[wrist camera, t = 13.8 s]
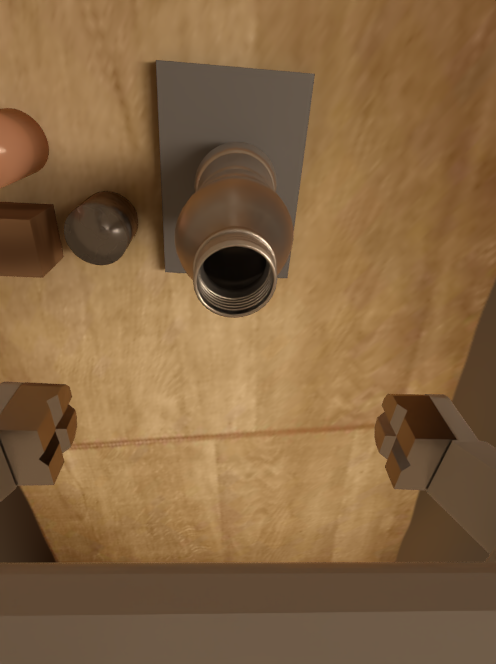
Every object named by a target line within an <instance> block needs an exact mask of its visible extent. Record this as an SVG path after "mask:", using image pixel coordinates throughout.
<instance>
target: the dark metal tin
mask: <svg viewBox="0 0 496 664" xmlns="http://www.w3.org/2000/svg"><path fill="white" fill-rule="evenodd" d="M137 229H138V216H137V213H136V211H135V209H134V207H133V206H132V204H131V203H130V202H129V201H128V200H127V199H126V198H124V197H123V196H121V195H119V194H117V193H114V192H109V191H103V192H99V193H96V194H94V195H92V196H91V197H90V198H88V199H87V200H86V201H85V202H83V203H82V204H81V205H80V206H78V207H77V208H76V209H75V210H74V211H72V212H71V213H70V214H69V216H68V217H67V219H66V221H65V225H64V235H65V239H66V242H67V244H68V246H69V247H70V249H71V250H72V251H73V252H74V253H75V254H76V255H77V256H78V257H79V258H81V259H82V260H84V261H86V262H88V263H91V264H95V265H107V264H111V263H113V262H115V261H117V260H118V259H119V258H120V257H121V256H122V255H123V254H124V252H125V250H126V249H127V247H128V245H129V244H130V242H131V241H132V239H133V237H134V236H135V234H136V232H137Z"/></svg>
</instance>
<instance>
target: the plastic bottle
mask: <svg viewBox="0 0 496 664" xmlns="http://www.w3.org/2000/svg"><path fill="white" fill-rule="evenodd" d="M276 187H277V181H276V173H275V169H274V167H273V165H272V163H271V161H270V159H269V158H268V157H267V155H266V154H265V153H264V152H262V151H261V150H260V149H259V148H257V147H255V146H253V145H251V144H248V143H245V142H229V143H225V144H222V145H219V146H218V147H216V148H214V149H213V150H211V151H210V152H209V153H208V154H207V155H206V156H205V157H204V158H203V160H202V161H201V163H200V165H199V167H198V169H197V171H196V176H195V183H194V189H195V193H194V194H193V195H192V196H191V197H190V199H189V200H188V201H187V203H186V204H185V206H184V207H183V208H182V211H181V213H180V215H179V217H178V219H177V223H176V228H175V246H176V252H177V255H178V257H179V259H180V262H181V264H182V266H183V268H184V270H185V271H186V273H187V274H188V276H189V277H190V278H191V279H192V280H193V284H194V289H195V292H196V295H197V297H198V299H199V300H200V302H201V303H202V304H203V305H204V306H205V307H206V308H207V309H208V310H210V311H211V312H213V313H215V314H218V315H220V316H225V317H234V318H236V317H243V316H247V315H250V314H253V313H255V312H257V311H258V310H260V309H261V308H263V307H264V306H265V305H266V304H267V303H268V302H269V300H270V299H271V297H272V296H273V294H274V291H275V289H276V283H277V275H278V274H279V273H280V271H281V270H282V268H283V267H284V265H285V263H286V261H287V259H288V257H289V254H290V252H291V249H292V244H293V224H292V220H291V216H290V214H289V212H288V210H287V207H286V206H285V204H284V202H283V201H282V200H281V198H280V197H279V196H278V194H277V193H276Z"/></svg>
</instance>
